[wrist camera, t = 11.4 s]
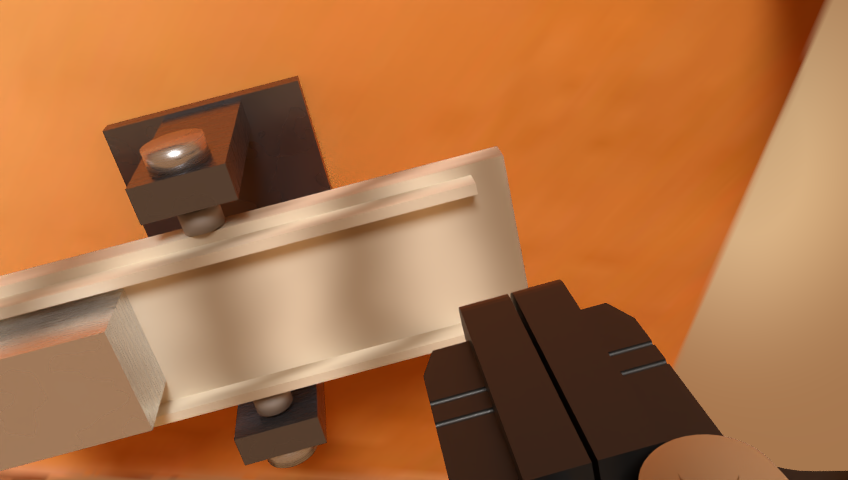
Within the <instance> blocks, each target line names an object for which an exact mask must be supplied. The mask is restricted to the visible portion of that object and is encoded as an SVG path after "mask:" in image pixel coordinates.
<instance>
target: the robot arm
mask: <svg viewBox="0 0 848 480" xmlns="http://www.w3.org/2000/svg"><path fill="white" fill-rule="evenodd" d="M459 314H460V319H461V323H462V327H463V331H464V336H465V340H466V342H462V343H459V344H455V345H451V346H448V347H444V348H440V349H437V350H433V351H432V354H431V356H430V359H429V362H428V365H427V368H426V371H425V373H424V376H423V377H424V381H425V385H426V389H427V393H428V397H429V401H430V405H431V409H432V413H433V417H434V421H435V425H436V429H437V433H438V437H439V441H440V445H441V449H442V453H443V457H444V461H445V465H446V469H447V473H448V478H449V480H848V471H813V472H812V471H797V470H790V469H784V468H780V467H776V466H775V465H774V463H772V461H771V460H770V459H768V457H766V456H765V455H764V454H763V453H761V452H760V451H759V450H757V449H756V448H754V447H753V446H750V445H748V444H746V443H744V442H742V441H739V440H736V439H733V438H729V437H725V436H723V435H722V434H721V432H720V431H719V430H718V428H717V427H716V426H715V425H714V423H713V422H712V420H711V419H710V418H709V416H708V415H707V414H706V412H705V411H704V410H703V408H702V407H701V406H700V404H699V403H698V402H697V400H696V399H695V398H694V396H693V395H692V394H691V392H690V391H689V390H688V389H687V387H686V386H685V384H684V383H683V382H682V381H681V379H680V378H679V376H678V375H677V374H676V372H675V371H674V370H673V368H672V367H671V366H670V364H667V363H666V360H665V358H664V356H663V355H662V354H661V353H660V351H659V350H658V349H657V347H656V346H655V345H653V344H652V341H651V339H650V338H649V337H648V335H647V334H646V333H645V331H644V330H643V329H642V327H641V326H640V325H639V323H638V322H637V321H636V319H635V318H633V317H632V316H630V315H628V314H626V313H624V312H622V311H620V310H618V309H617V308H615V307H613V306H611V305H609V304H607V303H604V304H600V305H597V306H593V307H589V308H586V309H582V310H580V308H579V306H578V305H577V303H576V302H575V300H574V299H573V297H572V296H571V294H570V292H569V291H568V289H567V288H566V286H565V285H564V283H563V282H562V281H561V280H556V281H552V282H548V283H545V284H541V285H537V286H534V287H530V288H526V289H523V290H519V291H515V292H512V293H511V294H510V297H509V295H508V294H505V295H501V296H498V297H494V298H490V299H487V300H483V301H479V302H476V303H472V304H468V305H465V306H461V307H459Z"/></svg>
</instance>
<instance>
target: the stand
mask: <svg viewBox="0 0 848 480" xmlns="http://www.w3.org/2000/svg"><path fill="white" fill-rule="evenodd" d="M103 133H104V136H105V138H106V140H107V143H108V145H109V147H110V150H111V152H112V154H113V157H114V159H115V161H116V163H117V166H118V168H119V170H120V173H121V175H122V177H123V180H124V182H125V184H126V189H125V190H126V192H127V194H128V197H129V199H130V201H131V204H132V206H133V208H134V211H135V213H136V215H137V218H138V220H139V222H140V224H141V225H143V226H144V228H145V230H146V233H147V235H148V237H152V236H156V235H159V234H163V233H167V232H171V231H175V230H178V229H182V227H181V224H180V222H179V219H178V217H177V216H178V215H182V214H186V213H190V212H193V211H197V210H201V209H205V208H209V207H212V206H216V205H220V206H221V208H222V211H223V214H224V216H225V217H228V216H232V215H236V214H240V213H243V212H247V211H251V210H255V209H259V208H263V207H266V206H270V205H274V204H278V203H282V202H285V201H289V200H293V199H297V198H301V197H305V196H308V195H312V194H316V193H320V192H324V191H328V190H331V189H332V188H331V184H330V181H329V178H328V174H327V171H326V168H325V164H324V161H323V158H322V154H321V151H320V148H319V144H318V141H317V138H316V135H315V131H314V128H313V125H312V121H311V118H310V115H309V111H308V108H307V105H306V101H305V98H304V95H303V92H302V88H301V85H300V82H299V78H298V76H295V77H292V78H288V79H284V80H280V81H276V82H272V83H269V84H265V85H261V86H257V87H253V88H249V89H246V90H242V91H238V92H234V93H230V94H226V95H223V96H219V97H215V98H211V99H207V100H203V101H199V102H196V103H192V104H188V105H184V106H180V107H176V108H173V109H169V110H165V111H161V112H157V113H153V114H150V115H146V116H142V117H138V118H134V119H130V120H126V121H123V122H119V123H115V124H111V125H107V126H106V128H105V129H104V130H103ZM291 394H292V396H293V401H292V404H291V405H290V406H289V407H288V408H287V409H286V410H285V411H283V412H282V413H280V414H277V415H274V416H261V415H259V414H258V412H257V410H256V408H255V405H254V403H253V401H251V402H247V403H243V404H239V405H238V410H237V419H236V428H235V437H234V441H235V443H236V445H237V448H238V450H239V452H240V455H241V457H242V459H243V461H244V464H245V465H248V464H252V463H255V462H259V461H263V460H266V459H268V462H269V463H270V464H271V465H272V466H274V467H278V468H288V467H293V466H296V465H298V464H300V463H302V462H304V461H305V460H307V459H308V458H309V457H310V456H311V455H312V454H313V453H314V452H315V450H316V448H317V445H320V444H324V443H327V435H326V415H325V395H324V382H322V383H318V384H314V385H310V386H307V387H303V388H299V389H295V390H292V391H291Z"/></svg>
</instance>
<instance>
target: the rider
mask: <svg viewBox="0 0 848 480" xmlns="http://www.w3.org/2000/svg"><path fill="white" fill-rule="evenodd" d="M165 383H166V379H165V377H164V375H163V373H162V370H161V368H160V366H159V364H158V362H157V360H156V358H155V355H154V353H153V351H152V349H151V347H150V345H149V342H148V340H147V338H146V336H145V334H144V332H143V330H142V327H141V325H140V323H139V321H138V319H137V317H136V314H135V312H134V310H133V308H132V306H131V304H130V301H129V299H128V297H127V295H126V293H125V291H124V289H119V290H115V291H112V292H108V293H104V294H100V295H96V296H93V297H89V298H85V299H81V300H77V301H74V302H70V303H66V304H62V305H58V306H54V307H51V308H47V309H43V310H39V311H35V312H32V313H28V314H24V315H20V316H16V317H12V318H9V319H5V320H1V321H0V471H2V470H6V469H9V468H13V467H17V466H21V465H24V464H28V463H32V462H36V461H39V460H43V459H47V458H51V457H54V456H58V455H62V454H66V453H69V452H73V451H77V450H81V449H84V448H88V447H92V446H96V445H99V444H103V443H107V442H110V441H114V440H118V439H122V438H125V437H129V436H133V435H137V434H140V433H144V432H148V431H152V430H153V427H154V424H155V420H156V416H157V413H158V409H159V405H160V402H161V398H162V394H163V391H164V387H165Z"/></svg>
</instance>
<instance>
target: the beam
mask: <svg viewBox="0 0 848 480" xmlns="http://www.w3.org/2000/svg"><path fill="white" fill-rule="evenodd" d="M177 217H178V219H179V222H180V224H181V227H182V229H178V230H175V231H171V232H167V233H163V234H159V235H156V236H152V237H148V238H144V239H140V240H136V241H133V242H129V243H125V244H121V245H117V246H113V247H110V248H106V249H102V250H98V251H94V252H91V253H87V254H83V255H79V256H75V257H71V258H68V259H64V260H60V261H56V262H52V263H48V264H45V265H41V266H37V267H33V268H29V269H26V270H22V271H18V272H14V273H10V274H6V275H3V276H0V321H1V320H5V319H9V318H12V317H16V316H20V315H24V314H28V313H32V312H35V311H39V310H43V309H47V308H51V307H54V306H58V305H62V304H66V303H70V302H74V301H77V300H81V299H85V298H89V297H93V296H96V295H100V294H104V293H108V292H112V291H115V290H119V289H124V291H125V293H126V295H127V297H128V299H129V301H130V304H131V306H132V308H133V310H134V312H135V314H136V317H137V319H138V321H139V323H140V325H141V327H142V330H143V332H144V334H145V336H146V338H147V340H148V342H149V345H150V347H151V349H152V351H153V353H154V355H155V358H156V360H157V362H158V364H159V366H160V368H161V370H162V373H163V375H164V377H165V379H166V383H165V387H164V391H163V394H162V398H161V402H160V405H159V409H158V413H157V416H156V420H155V424H154V427H157V426H161V425H165V424H168V423H172V422H176V421H179V420H183V419H187V418H191V417H194V416H198V415H202V414H206V413H209V412H213V411H217V410H221V409H224V408H228V407H232V406H236V405H239V404H243V403H247V402H251V401H253V403H254V405H255V408H256V410H257V412H258V414H259V415H261V416H274V415H277V414H280V413H282V412H283V411H285V410H286V409H287V408H288V407H289V406H290V405H291V404H292V401H293V396H292V394H291V391H292V390H295V389H299V388H303V387H307V386H310V385H314V384H318V383H322V382H325V381H329V380H333V379H336V378H340V377H344V376H348V375H351V374H355V373H359V372H363V371H366V370H370V369H374V368H378V367H381V366H385V365H389V364H393V363H396V362H400V361H404V360H408V359H411V358H415V357H419V356H422V355H426V354H430V353H432V351H433V350H437V349H440V348H444V347H448V346H451V345H455V344H459V343H462V342H466V340H465V336H464V331H463V327H462V323H461V319H460V314H459V307H461V306H465V305H468V304H472V303H476V302H479V301H483V300H487V299H490V298H494V297H498V296H501V295H505V294H508V295H509V297H510V294H511V293H512V292H515V291H519V290H523V289H526V288H528V285H527V280H526V274H525V269H524V264H523V258H522V253H521V248H520V242H519V237H518V232H517V227H516V221H515V216H514V211H513V205H512V200H511V195H510V189H509V184H508V179H507V173H506V168H505V163H504V158H503V154H502V153H501V151H500V150H499V149H498V147H497V146H496V147H492V148H488V149H484V150H480V151H477V152H473V153H469V154H465V155H461V156H458V157H454V158H450V159H446V160H442V161H438V162H435V163H431V164H427V165H423V166H419V167H415V168H412V169H408V170H404V171H400V172H396V173H393V174H389V175H385V176H381V177H377V178H373V179H370V180H366V181H362V182H358V183H354V184H350V185H347V186H343V187H339V188H335V189H331V190H328V191H324V192H320V193H316V194H312V195H308V196H305V197H301V198H297V199H293V200H289V201H285V202H282V203H278V204H274V205H270V206H266V207H263V208H259V209H255V210H251V211H247V212H243V213H240V214H236V215H232V216H228V217H225V216H224V214H223V211H222V208H221V206H220V205H216V206H212V207H209V208H205V209H201V210H197V211H193V212H190V213H186V214H182V215H178V216H177Z"/></svg>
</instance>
